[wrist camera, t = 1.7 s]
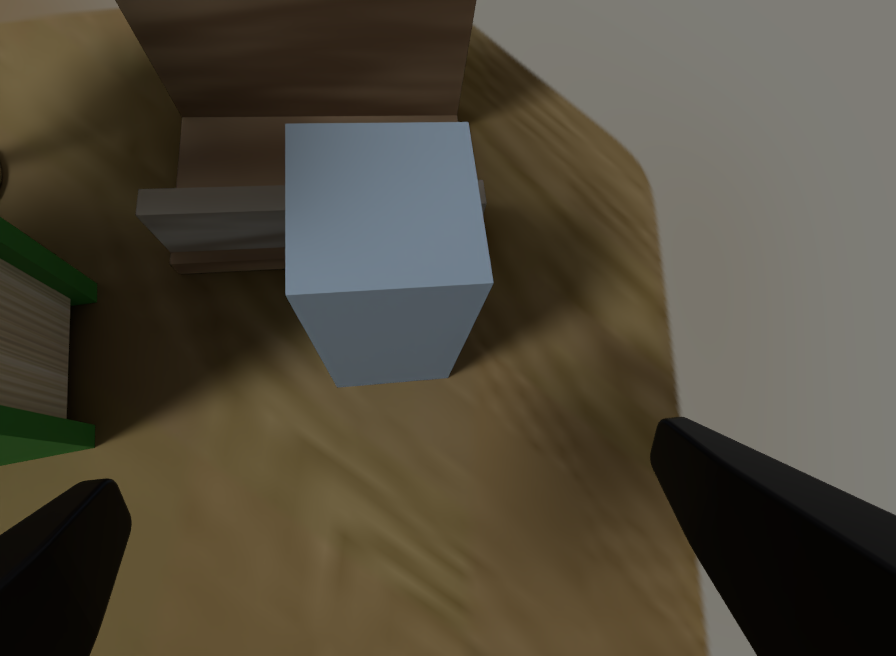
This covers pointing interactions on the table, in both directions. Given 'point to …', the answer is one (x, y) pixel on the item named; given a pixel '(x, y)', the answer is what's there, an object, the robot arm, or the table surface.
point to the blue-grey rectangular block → (384, 246)
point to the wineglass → (0, 174)
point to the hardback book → (37, 349)
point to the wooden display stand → (281, 103)
